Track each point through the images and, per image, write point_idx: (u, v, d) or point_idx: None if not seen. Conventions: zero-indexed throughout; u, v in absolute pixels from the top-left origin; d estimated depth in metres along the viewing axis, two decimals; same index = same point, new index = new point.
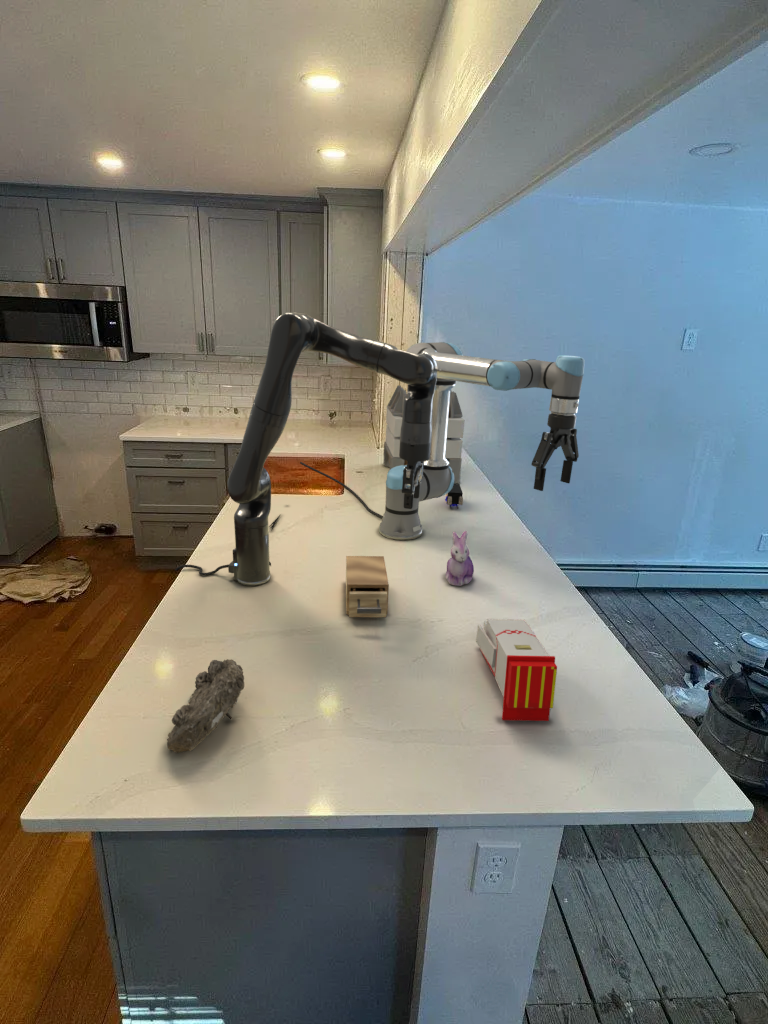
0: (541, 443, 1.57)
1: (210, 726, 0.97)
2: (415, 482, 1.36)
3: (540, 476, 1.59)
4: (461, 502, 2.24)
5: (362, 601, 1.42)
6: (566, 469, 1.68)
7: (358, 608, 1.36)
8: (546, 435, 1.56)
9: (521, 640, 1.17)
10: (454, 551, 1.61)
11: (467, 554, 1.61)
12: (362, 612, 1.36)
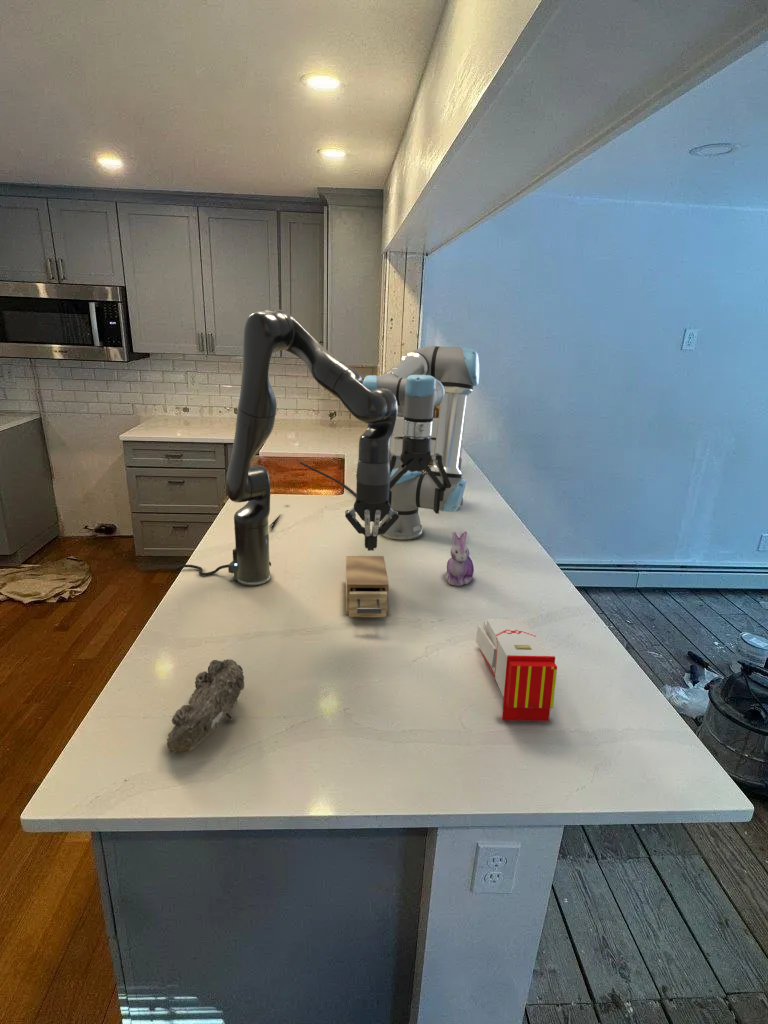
0: None
1: (210, 726, 0.97)
2: None
3: None
4: (461, 502, 2.24)
5: (362, 601, 1.42)
6: (435, 498, 1.55)
7: (358, 608, 1.36)
8: (391, 457, 1.48)
9: (521, 640, 1.17)
10: (454, 551, 1.61)
11: (467, 554, 1.61)
12: (362, 612, 1.36)
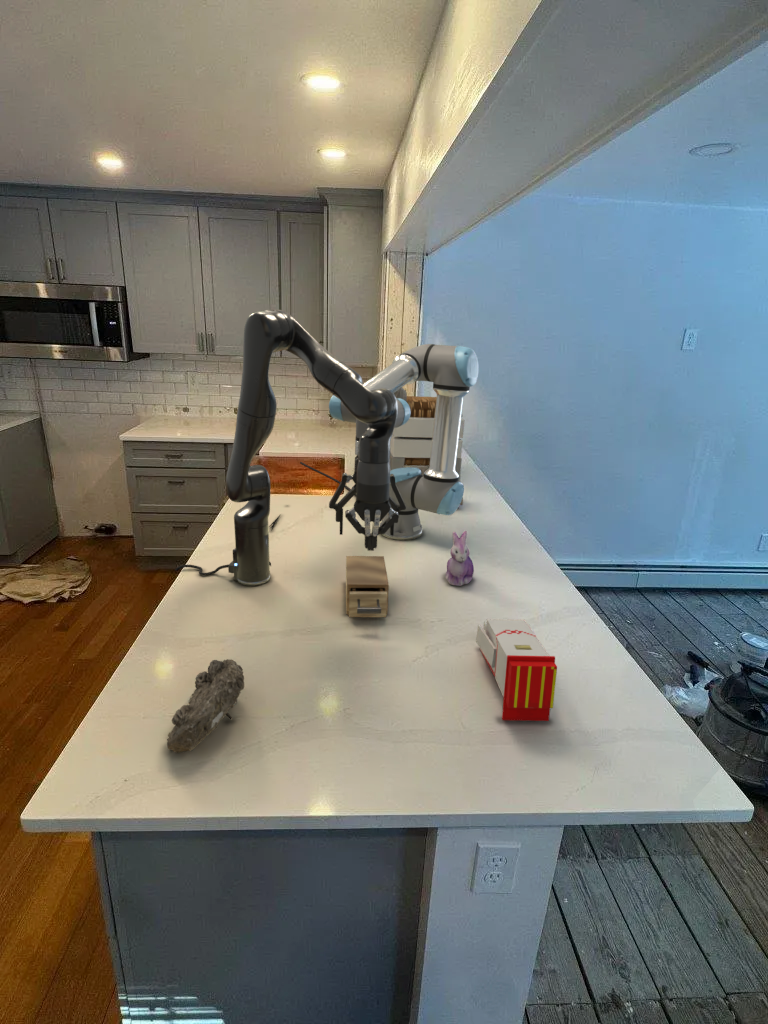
0: (339, 484, 1.48)
1: (210, 726, 0.97)
2: None
3: (337, 518, 1.50)
4: (461, 502, 2.24)
5: (362, 601, 1.42)
6: None
7: (358, 608, 1.36)
8: (342, 476, 1.47)
9: (521, 640, 1.17)
10: (454, 551, 1.61)
11: (467, 554, 1.61)
12: (362, 612, 1.36)
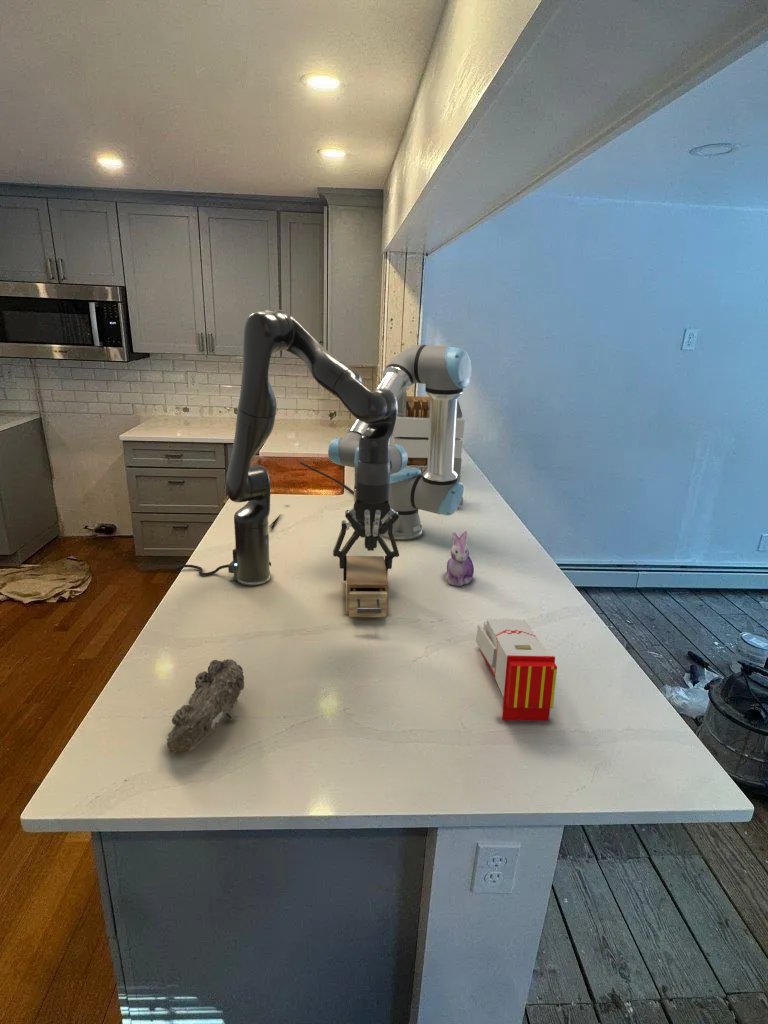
0: (340, 532, 1.53)
1: (210, 726, 0.97)
2: None
3: (341, 565, 1.55)
4: (461, 502, 2.24)
5: (362, 601, 1.42)
6: None
7: (358, 608, 1.36)
8: None
9: (521, 640, 1.17)
10: (454, 551, 1.61)
11: (467, 554, 1.61)
12: (362, 612, 1.36)
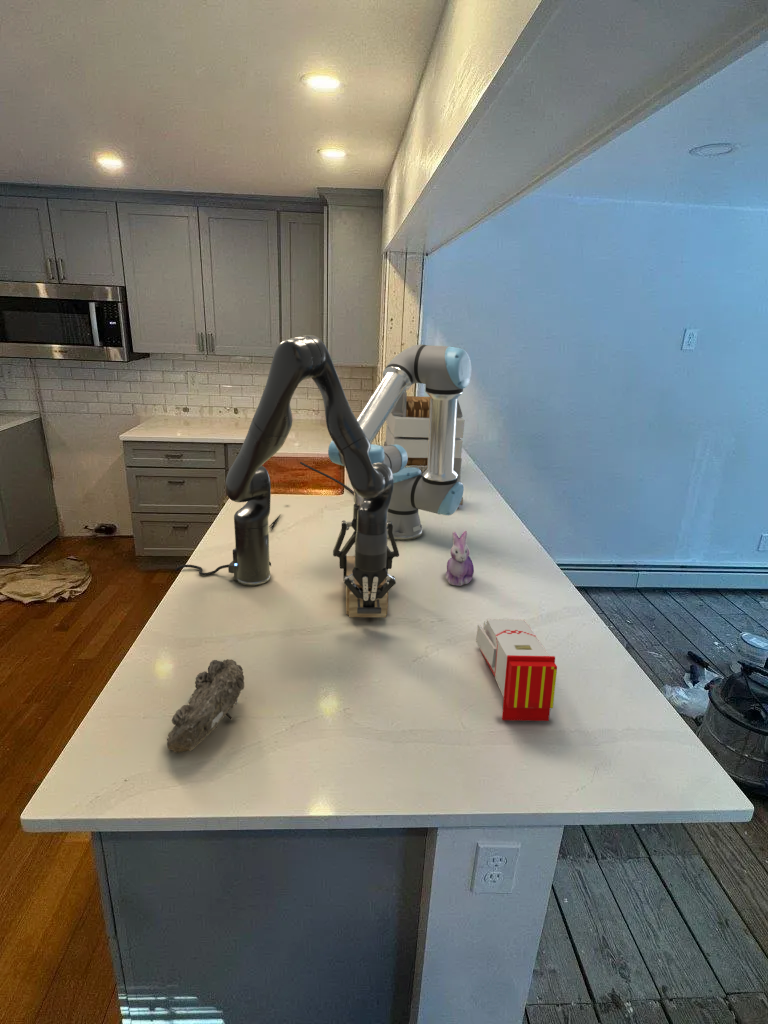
0: (340, 532, 1.53)
1: (210, 726, 0.97)
2: None
3: (341, 565, 1.55)
4: (461, 502, 2.24)
5: (362, 601, 1.42)
6: None
7: (358, 608, 1.36)
8: None
9: (521, 640, 1.17)
10: (454, 551, 1.61)
11: (467, 554, 1.61)
12: (362, 612, 1.36)
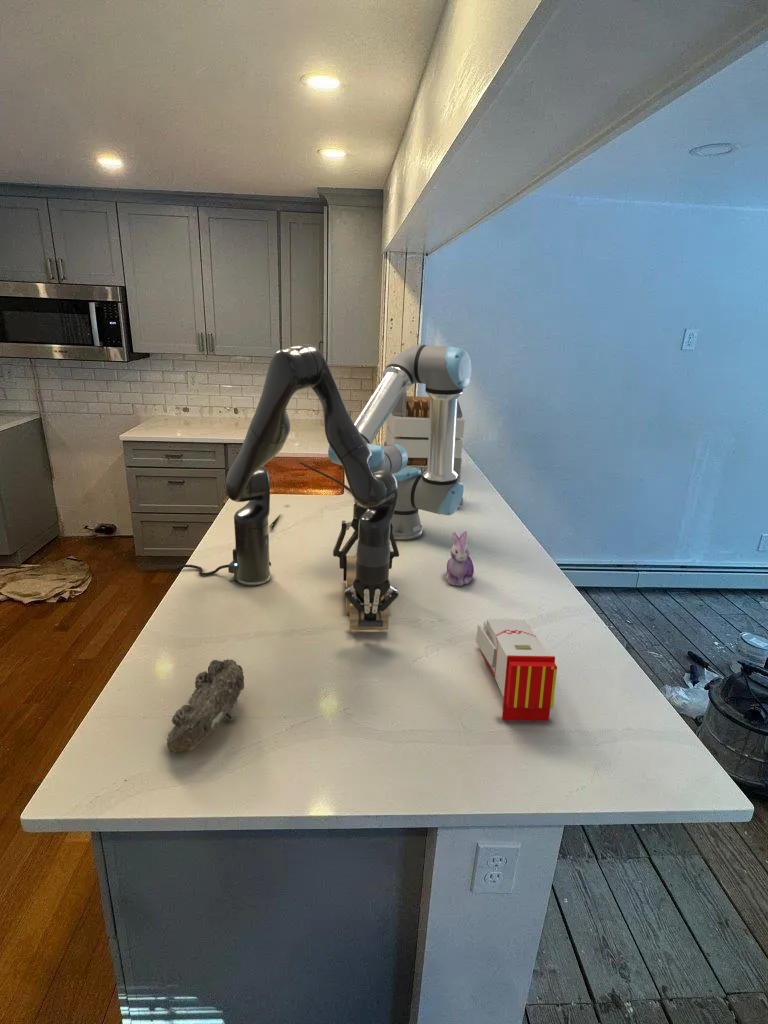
0: (340, 532, 1.53)
1: (210, 726, 0.97)
2: None
3: (341, 565, 1.55)
4: (461, 502, 2.24)
5: (363, 613, 1.36)
6: None
7: (359, 621, 1.31)
8: None
9: (521, 640, 1.17)
10: (454, 551, 1.61)
11: (467, 554, 1.61)
12: (363, 625, 1.31)
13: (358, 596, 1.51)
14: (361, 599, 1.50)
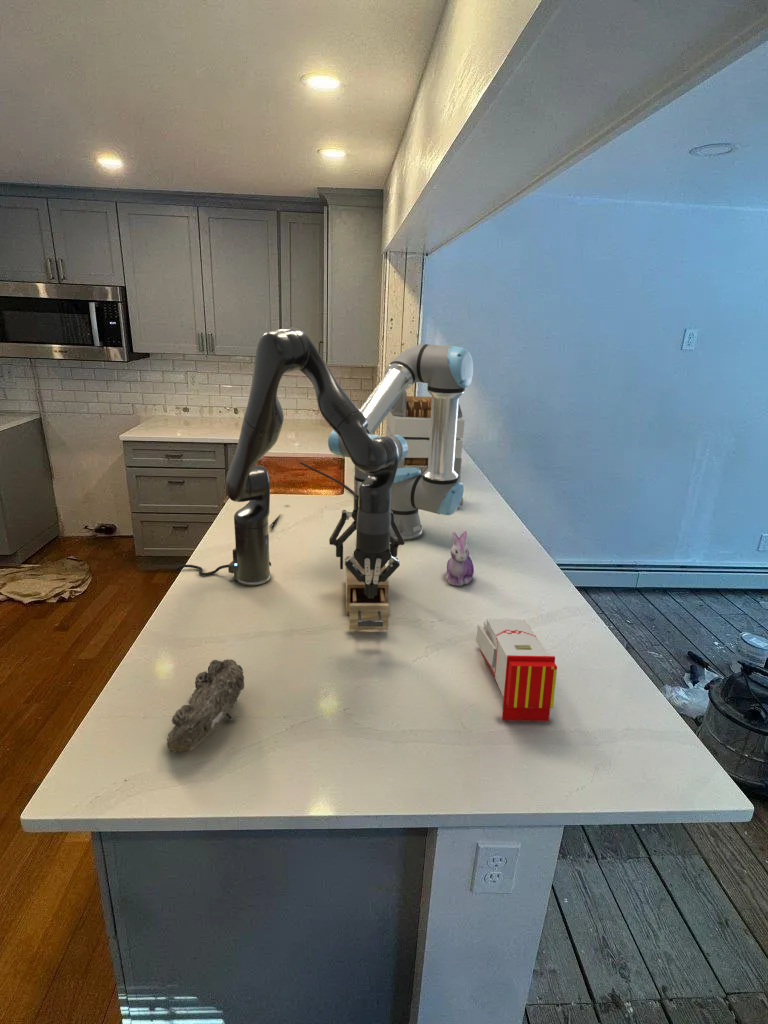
0: (339, 521, 1.52)
1: (210, 726, 0.97)
2: None
3: (338, 554, 1.54)
4: (461, 502, 2.24)
5: (363, 613, 1.36)
6: None
7: (359, 621, 1.31)
8: (342, 514, 1.50)
9: (521, 640, 1.17)
10: (454, 551, 1.61)
11: (467, 554, 1.61)
12: (363, 625, 1.31)
13: (358, 596, 1.51)
14: (361, 599, 1.50)
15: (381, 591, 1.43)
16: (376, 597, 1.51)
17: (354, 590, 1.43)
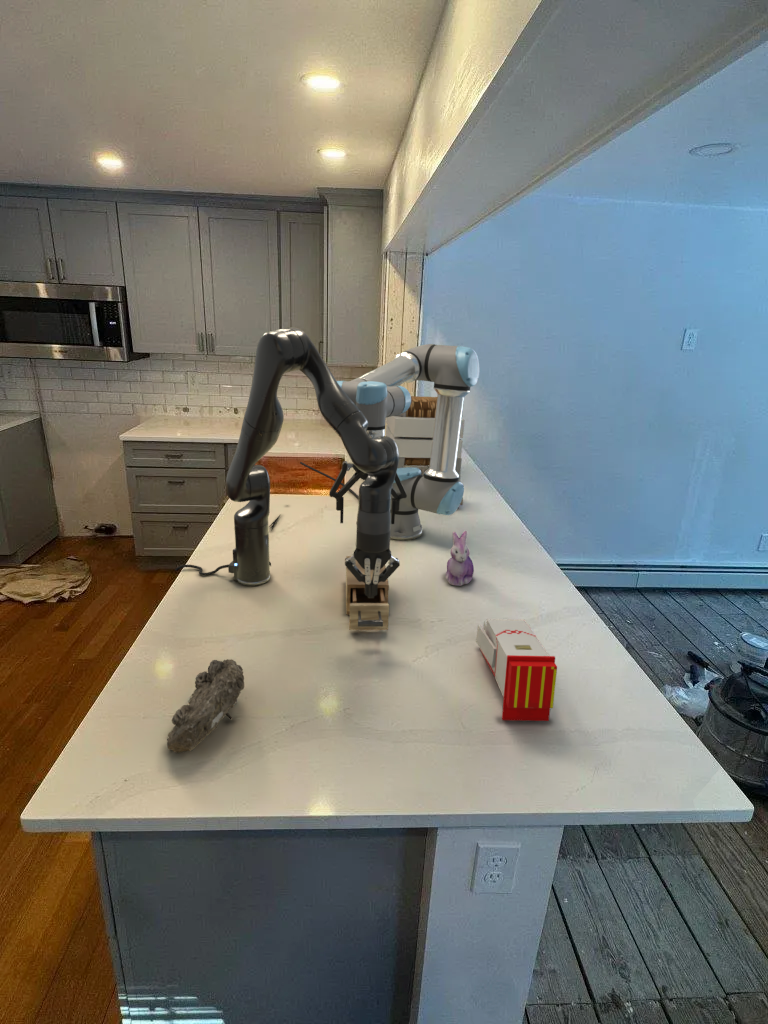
0: (340, 472, 1.47)
1: (210, 726, 0.97)
2: None
3: (338, 507, 1.49)
4: (461, 502, 2.24)
5: (363, 613, 1.36)
6: (391, 508, 1.51)
7: (359, 621, 1.31)
8: (342, 464, 1.46)
9: (521, 640, 1.17)
10: (454, 551, 1.61)
11: (467, 554, 1.61)
12: (363, 625, 1.31)
13: (358, 596, 1.51)
14: (361, 599, 1.50)
15: (381, 591, 1.43)
16: (376, 597, 1.51)
17: (354, 590, 1.43)
